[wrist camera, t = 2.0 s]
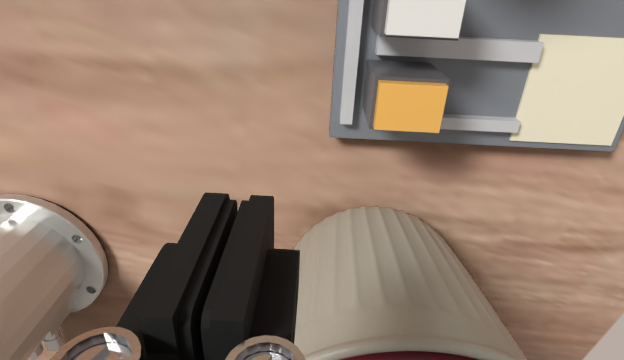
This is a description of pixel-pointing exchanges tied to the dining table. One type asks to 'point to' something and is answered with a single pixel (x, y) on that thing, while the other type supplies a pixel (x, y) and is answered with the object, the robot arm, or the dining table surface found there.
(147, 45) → the dining table surface
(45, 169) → the dining table surface
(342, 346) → the canister
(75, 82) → the dining table surface
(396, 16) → the toggle plain
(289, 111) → the dining table surface
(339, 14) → the panel
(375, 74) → the block
